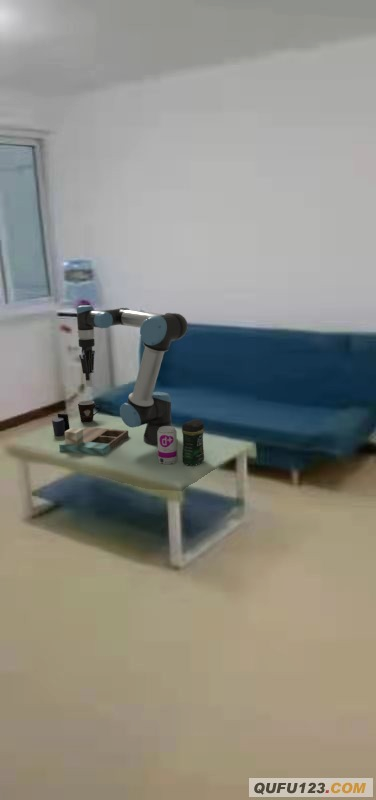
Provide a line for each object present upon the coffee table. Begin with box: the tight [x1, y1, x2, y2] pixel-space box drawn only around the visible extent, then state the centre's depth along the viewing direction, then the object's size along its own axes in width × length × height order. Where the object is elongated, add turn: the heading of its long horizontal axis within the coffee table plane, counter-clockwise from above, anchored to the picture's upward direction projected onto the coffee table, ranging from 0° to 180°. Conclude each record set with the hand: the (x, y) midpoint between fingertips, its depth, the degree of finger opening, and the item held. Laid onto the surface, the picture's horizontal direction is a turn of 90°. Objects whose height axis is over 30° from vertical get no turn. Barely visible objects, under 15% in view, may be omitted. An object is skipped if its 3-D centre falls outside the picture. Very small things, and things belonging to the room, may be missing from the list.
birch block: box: [64, 427, 84, 445], centre depth 286 cm, size 6×6×6 cm
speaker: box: [51, 412, 71, 437], centre depth 309 cm, size 8×6×10 cm
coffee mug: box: [77, 400, 102, 423], centre depth 330 cm, size 12×9×10 cm
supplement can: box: [157, 425, 178, 465], centre depth 268 cm, size 8×8×15 cm
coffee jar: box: [181, 418, 205, 466], centre depth 266 cm, size 10×8×19 cm
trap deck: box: [58, 426, 129, 456], centre depth 295 cm, size 22×28×3 cm
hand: (89, 386), depth 304 cm, fingers closed
